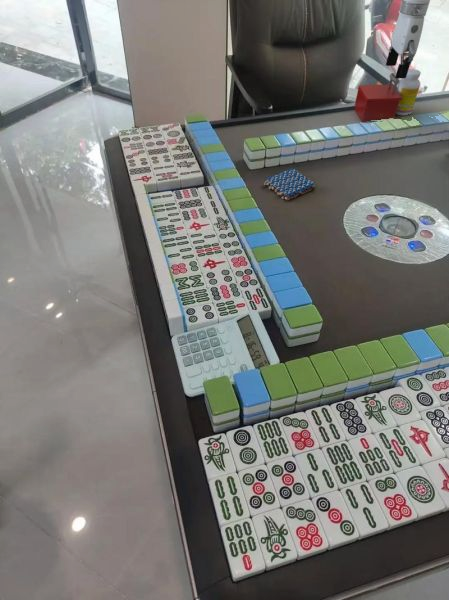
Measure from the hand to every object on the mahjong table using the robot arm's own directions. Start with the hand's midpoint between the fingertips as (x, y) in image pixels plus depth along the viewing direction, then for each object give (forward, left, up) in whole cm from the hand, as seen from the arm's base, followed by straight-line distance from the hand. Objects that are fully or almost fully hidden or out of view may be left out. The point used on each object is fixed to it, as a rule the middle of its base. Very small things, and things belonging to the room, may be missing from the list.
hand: (395, 71), depth 135 cm
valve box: (+4, 0, -14) cm, 14 cm away
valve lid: (+3, 0, -7) cm, 8 cm away
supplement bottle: (-6, -1, -14) cm, 15 cm away
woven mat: (+39, +41, -14) cm, 58 cm away
